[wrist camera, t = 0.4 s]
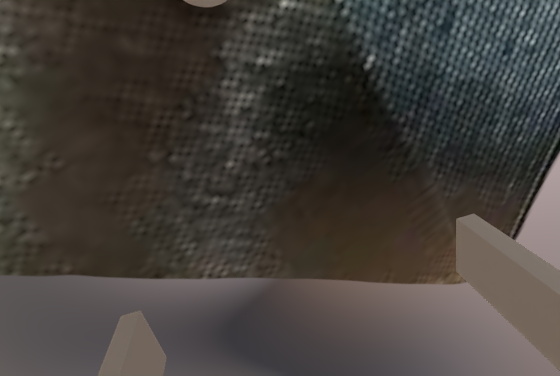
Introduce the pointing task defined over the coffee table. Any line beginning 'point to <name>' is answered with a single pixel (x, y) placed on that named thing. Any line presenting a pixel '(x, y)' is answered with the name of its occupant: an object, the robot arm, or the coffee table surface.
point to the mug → (205, 2)
